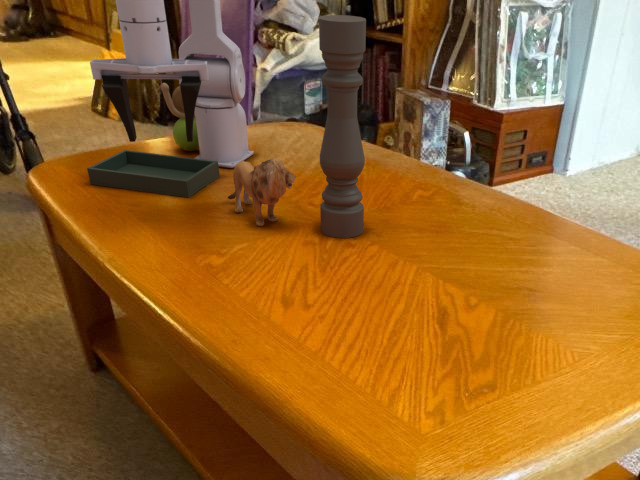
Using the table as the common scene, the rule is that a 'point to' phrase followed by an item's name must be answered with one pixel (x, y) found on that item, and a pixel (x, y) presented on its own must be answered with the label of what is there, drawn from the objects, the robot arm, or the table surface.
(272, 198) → the lion figurine
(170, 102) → the snail figurine
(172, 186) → the tray
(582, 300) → the table surface
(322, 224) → the candle holder
